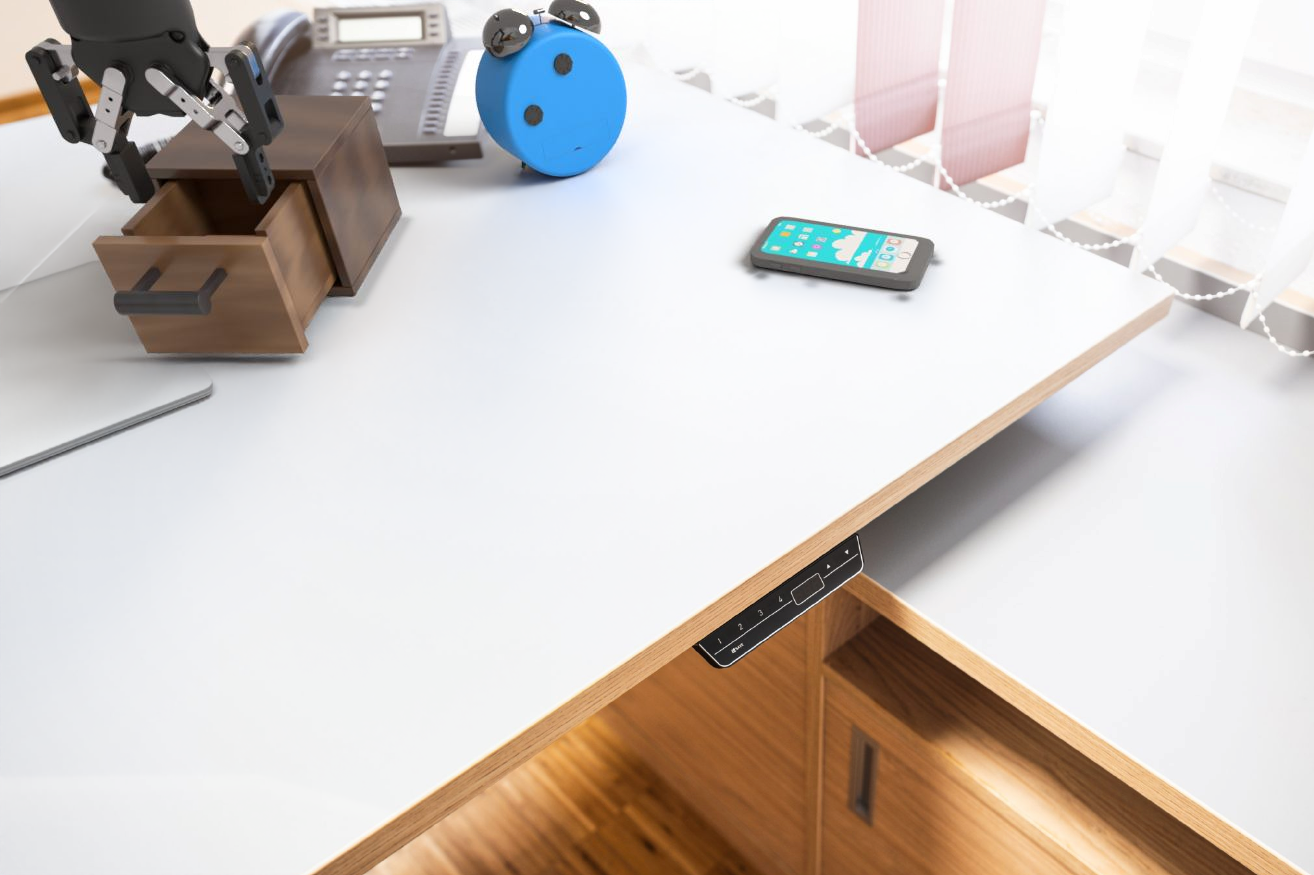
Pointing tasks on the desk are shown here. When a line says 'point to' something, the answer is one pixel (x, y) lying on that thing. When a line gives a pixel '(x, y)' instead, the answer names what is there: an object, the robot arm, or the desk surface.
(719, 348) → the desk surface
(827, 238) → the smartphone
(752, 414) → the desk surface
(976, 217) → the desk surface
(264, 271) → the drawer
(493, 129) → the alarm clock
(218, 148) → the cabinet
